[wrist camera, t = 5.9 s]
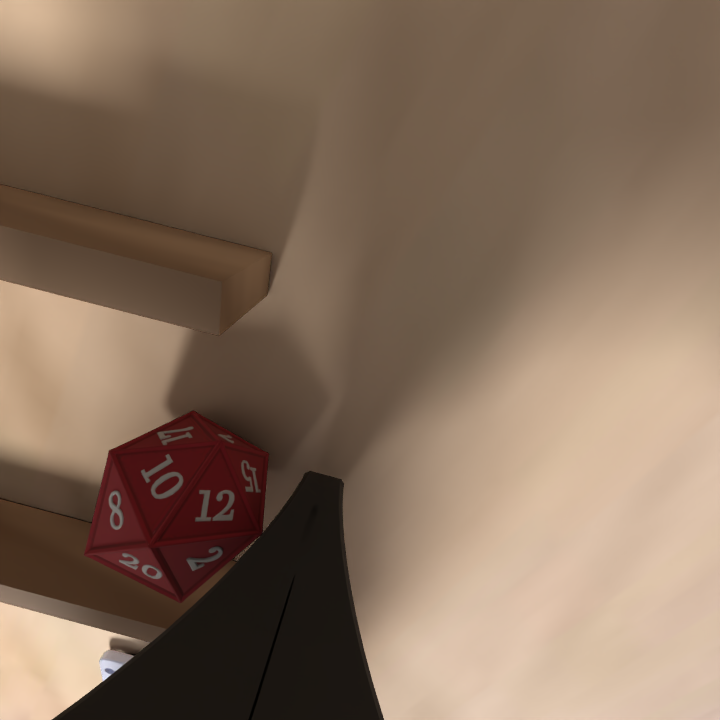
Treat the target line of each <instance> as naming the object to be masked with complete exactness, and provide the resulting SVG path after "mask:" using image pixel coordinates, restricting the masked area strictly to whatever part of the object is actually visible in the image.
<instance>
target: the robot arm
mask: <svg viewBox="0 0 720 720" xmlns="http://www.w3.org/2000/svg"><path fill="white" fill-rule="evenodd" d="M343 487H344V483H343V481H342V480H341V479H338V478H335V477H331V476H327V475H323V474H319V473H316V472H312V471H309V472H306V473H305V474H304V476H303V478H302V480H301V482H300V483H299V485H298V487H297V488H296V490H295V491H294V493H293V494H292V496H291V497H290V499H289V500H288V501H287V503H286V504H285V506H284V507H283V508H282V510H281V511H280V512H279V513H278V515H277V516H276V517H275V518H274V520H273V521H272V522H271V523H270V525H269V526H268V527H267V528H266V530H265V531H264V532H263V533H262V535H261V536H260V537H259V538H258V539H257V540H256V541H255V543H254V544H253V545H252V546H251V547H250V548H249V549H248V550H247V551H246V552H245V554H244V555H243V556H242V557H241V558H240V559H239V560H238V561H237V562H236V564H235V565H234V566H233V567H232V568H231V569H230V570H229V571H228V572H227V573H226V574H225V575H224V576H223V577H222V578H221V579H220V580H219V581H218V582H217V583H216V584H215V585H214V586H213V587H212V588H211V589H210V590H209V591H208V592H207V593H206V594H205V595H204V596H203V597H201V598H200V599H199V600H198V601H197V602H196V603H195V604H194V605H193V606H192V607H191V608H190V609H188V610H187V611H186V612H185V613H184V614H183V615H182V616H181V617H180V618H178V619H177V620H176V621H175V622H174V623H173V624H172V625H171V626H170V627H169V628H167V629H166V630H165V631H164V632H163V633H162V634H160V635H159V636H158V637H157V638H156V639H155V640H153V641H152V642H151V643H150V644H149V645H147V646H146V647H145V648H144V649H143V650H141V651H140V652H139V653H138V654H136V655H135V656H133V655H130V654H126V653H122V652H119V651H115V650H107V651H106V652H104V654H103V655H102V657H101V658H100V661H99V663H100V668H101V674H102V679H103V682H102V683H100V684H99V685H98V686H97V687H95V688H94V689H93V690H91V691H90V692H89V693H87V694H86V695H85V696H83V697H82V698H81V699H80V700H78V701H77V702H75V703H74V704H73V705H71V706H70V707H69V708H67V709H66V710H65V711H63V712H62V713H60V714H59V715H58V716H56V717H55V718H54V719H52V720H384V718H383V715H382V712H381V708H380V705H379V702H378V698H377V695H376V692H375V689H374V685H373V682H372V678H371V675H370V671H369V667H368V663H367V659H366V655H365V652H364V648H363V643H362V639H361V635H360V631H359V626H358V622H357V617H356V612H355V607H354V602H353V597H352V591H351V585H350V580H349V573H348V567H347V559H346V550H345V542H344V531H343V511H342V501H343Z"/></svg>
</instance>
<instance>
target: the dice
mask: <svg viewBox="0 0 720 720" xmlns="http://www.w3.org/2000/svg"><path fill="white" fill-rule="evenodd" d="M268 457H269V453H267V452H265V451H263V450H261V449H259V448H258V447H256V446H254V445H252V444H251V443H249V442H247V441H245V440H244V439H242V438H240V437H239V436H237V435H235V434H233V433H232V432H230V431H228V430H226V429H225V428H223V427H221V426H219V425H218V424H216V423H214V422H212V421H211V420H209V419H207V418H205V417H204V416H202V415H200V414H198V413H197V412H195V411H194V410H193V411H191V412H189V413H187V414H185V415H183V416H181V417H179V418H177V419H175V420H173V421H171V422H169V423H166V424H164V425H162V426H160V427H158V428H156V429H154V430H152V431H150V432H148V433H146V434H143V435H141V436H139V437H137V438H135V439H133V440H131V441H129V442H127V443H125V444H123V445H120V446H118V447H116V448H114V449H111V450H109V453H108V458H107V462H106V466H105V470H104V475H103V479H102V483H101V487H100V491H99V495H98V499H97V503H96V507H95V511H94V515H93V519H92V523H91V527H90V531H89V535H88V539H87V544H86V548H85V552H84V556H86V557H88V558H91V559H93V560H95V561H97V562H99V563H101V564H103V565H105V566H107V567H109V568H111V569H113V570H115V571H117V572H119V573H121V574H123V575H125V576H127V577H129V578H131V579H133V580H135V581H137V582H139V583H141V584H143V585H145V586H147V587H149V588H151V589H153V590H155V591H157V592H159V593H161V594H163V595H165V596H167V597H169V598H171V599H173V600H175V601H177V602H178V603H182V602H183V601H184V600H185V599H186V598H188V597H189V596H190V595H191V594H192V593H193V592H195V591H196V590H197V589H198V588H199V587H200V586H202V585H203V584H204V583H205V582H206V581H207V580H209V579H210V578H211V577H212V576H213V575H214V574H216V573H217V572H218V571H219V570H220V569H221V568H223V567H224V566H225V565H226V564H227V563H228V562H230V561H231V560H232V559H233V558H234V557H236V556H237V555H238V554H239V553H240V552H241V551H243V550H244V549H245V548H246V547H247V546H248V545H250V544H251V543H252V542H253V541H254V540H255V539H257V538H258V537H259V536H260V535H262V533H263V518H264V506H265V493H266V481H267V468H268Z"/></svg>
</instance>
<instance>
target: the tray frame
mask: <svg viewBox="0 0 720 720" xmlns="http://www.w3.org/2000/svg"><path fill="white" fill-rule="evenodd" d="M271 257H272V253H270V252H267V251H263V250H259V249H255V248H251V247H247V246H243V245H239V244H235V243H231V242H227V241H223V240H219V239H215V238H211V237H207V236H203V235H199V234H195V233H191V232H187V231H183V230H180V229H176V228H172V227H168V226H164V225H160V224H156V223H152V222H148V221H144V220H140V219H136V218H132V217H128V216H124V215H120V214H116V213H112V212H108V211H104V210H100V209H96V208H92V207H89V206H85V205H81V204H77V203H73V202H69V201H65V200H61V199H57V198H53V197H49V196H45V195H41V194H37V193H33V192H29V191H25V190H21V189H17V188H13V187H9V186H5V185H2V184H0V280H3V281H7V282H11V283H15V284H19V285H22V286H26V287H30V288H34V289H38V290H42V291H46V292H50V293H54V294H57V295H61V296H65V297H69V298H73V299H77V300H81V301H85V302H89V303H93V304H96V305H100V306H104V307H108V308H112V309H116V310H120V311H124V312H128V313H131V314H135V315H139V316H143V317H147V318H151V319H155V320H159V321H163V322H167V323H170V324H174V325H178V326H182V327H186V328H190V329H194V330H198V331H202V332H205V333H209V334H213V335H217V336H220V335H221V334H222V333H223V332H224V331H226V330H227V329H228V328H229V327H230V326H231V325H233V324H234V323H235V322H236V321H237V320H239V319H240V318H241V317H242V316H243V315H244V314H246V313H247V312H248V311H249V310H250V309H252V308H253V307H254V306H255V305H256V304H257V303H259V302H260V301H261V300H262V299H263V298H265V297H266V296H267V293H268V284H269V275H270V266H271ZM90 527H91V523H89V522H85V521H81V520H77V519H73V518H70V517H66V516H62V515H58V514H55V513H51V512H47V511H43V510H40V509H36V508H32V507H28V506H25V505H21V504H17V503H13V502H10V501H6V500H2V499H0V602H3V603H6V604H10V605H14V606H17V607H21V608H25V609H29V610H32V611H36V612H40V613H43V614H47V615H51V616H54V617H58V618H62V619H66V620H69V621H73V622H77V623H80V624H84V625H88V626H91V627H95V628H99V629H103V630H106V631H110V632H114V633H117V634H121V635H125V636H129V637H132V638H136V639H140V640H143V641H147V642H152V641H153V640H155V639H156V638H157V637H158V636H159V635H160V634H162V633H163V632H164V631H165V630H166V629H167V628H169V627H170V626H171V625H172V624H173V623H174V622H175V621H176V620H177V619H178V618H180V617H181V616H182V615H183V614H184V613H185V612H186V611H187V610H188V609H190V608H191V607H192V606H193V605H194V604H195V603H196V602H197V601H198V600H199V599H200V598H201V597H203V596H204V595H205V594H206V593H207V592H208V591H209V590H210V589H211V588H212V587H213V586H214V585H215V584H216V583H217V582H218V581H219V580H220V579H221V578H222V577H223V576H224V575H225V574H226V573H227V572H228V571H229V570H230V569H231V568H232V567H233V566H234V565H235V564H236V562H235V561H232V560H231V561H230V562H228V563H227V564H226V565H225V566H224V567H223V568H221V569H220V570H219V571H218V572H217V573H216V574H214V575H213V576H212V577H211V578H210V579H209V580H207V581H206V582H205V583H204V584H203V585H202V586H200V587H199V588H198V589H197V590H196V591H195V592H193V593H192V594H191V595H190V596H189V597H188V598H186V599H185V600H184V601H183V602H182V603H178V602H177V601H175V600H173V599H171V598H169V597H167V596H165V595H163V594H161V593H159V592H157V591H155V590H153V589H151V588H149V587H147V586H145V585H143V584H141V583H139V582H137V581H135V580H133V579H131V578H129V577H127V576H125V575H123V574H121V573H119V572H117V571H115V570H113V569H111V568H109V567H107V566H105V565H103V564H101V563H99V562H97V561H95V560H93V559H91V558H88V557H86V556H84V552H85V548H86V544H87V539H88V535H89V531H90Z"/></svg>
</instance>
